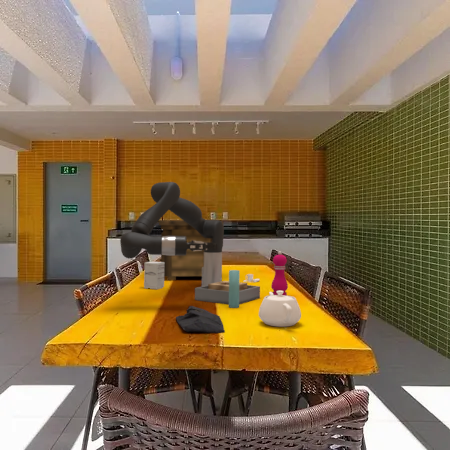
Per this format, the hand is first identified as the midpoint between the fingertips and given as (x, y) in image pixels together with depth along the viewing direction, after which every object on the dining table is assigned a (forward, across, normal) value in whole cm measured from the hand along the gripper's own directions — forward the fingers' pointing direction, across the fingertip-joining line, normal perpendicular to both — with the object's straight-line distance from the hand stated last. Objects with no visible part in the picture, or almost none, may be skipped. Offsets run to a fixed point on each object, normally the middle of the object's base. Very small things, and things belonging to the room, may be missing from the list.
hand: (216, 245), depth 171 cm
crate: (-6, +87, +23) cm, 91 cm away
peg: (+7, -2, +23) cm, 24 cm away
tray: (+7, +15, +23) cm, 29 cm away
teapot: (+18, -29, +24) cm, 42 cm away
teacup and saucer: (+27, +65, +24) cm, 74 cm away
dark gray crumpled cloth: (-8, -30, +24) cm, 39 cm away
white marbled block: (-25, +47, +24) cm, 58 cm away
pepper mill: (+31, +20, +23) cm, 44 cm away
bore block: (+7, +15, +23) cm, 29 cm away
